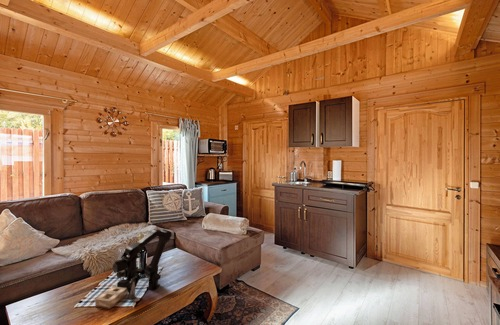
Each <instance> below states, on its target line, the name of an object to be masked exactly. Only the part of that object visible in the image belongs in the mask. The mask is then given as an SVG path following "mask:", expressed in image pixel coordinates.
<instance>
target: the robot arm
mask: <svg viewBox="0 0 500 325" xmlns="http://www.w3.org/2000/svg"><path fill="white" fill-rule="evenodd" d="M157 237H158V243H157V246H156V248H155V251H154V254H153V256H152V259H151V261H150V263H149V264H148V265H147V264H146V265H145V268H139V266H137V262H138V261H137V259H140V258H141V256H140V255H138V254H139V253H140V252H141V250H142V249H143V248H144V247H146V245H148V244H149V243H150V242H151V241H152V240H154V239H155V238H157ZM171 237H172V231H170V230H167V229H156V228H155V229H152V230H151V231H150V232H149V233H147V234H146V235H145V236H143V237H142V238H141V239H140V240H138V241H137V242H134V243H131V244H129V245H128V246H126V247H125V249H124V252H123V253H122V255H121V257H120V259H119V260H118V259H117V260H114V263H113V264H112V271H113V273H115V274H116V278H118V279H121V278H122V279H121V280H119V281H118V282H117V283H116V286H117V287H122V288H127V290H128V293H130V292H131V289H132V285H133V283H131V280H135V289H136V287H137V285H138V284H139V282H140V280H141V278H142V276H145V277H146V278H147V279H148V286H147V287H146V289H147V290H152V291H156V290H157V289H158V288H159V287H160V286H161V284H160V283H159V280H161V277H162V276H161V274H159V273H158V272H159V263H160V260H161V258H162V255H163V252H164V249H165V246H166V244H167V243H168V242H169V241H170V240H171ZM124 278H125V279H124Z"/></svg>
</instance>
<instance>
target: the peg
mask: <svg viewBox="0 0 500 325" xmlns="http://www.w3.org/2000/svg"><path fill="white" fill-rule="evenodd" d="M131 283H133V285H132V289H131V292H130V293H128V296H127V297H128V298H127V299H128V300H132V299H134V298H136V288H135V280H131Z"/></svg>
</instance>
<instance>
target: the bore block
mask: <svg viewBox="0 0 500 325" xmlns="http://www.w3.org/2000/svg"><path fill="white" fill-rule="evenodd" d="M127 295H128V290H127V288H122V287H117V285H113V286H112V287H110V288H109V289H107V290H106V291H104V292H103V293H102V294H100V295H99V296H98V297H96V298H95V299H94V300H95V303H94V304H95V307H97V308H103V309H109V310H110V309H111V308H113V307H114V306H116V305H117V304H118V303H119V302H120V301H122V300H123V299H124V298H125V297H127Z"/></svg>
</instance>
